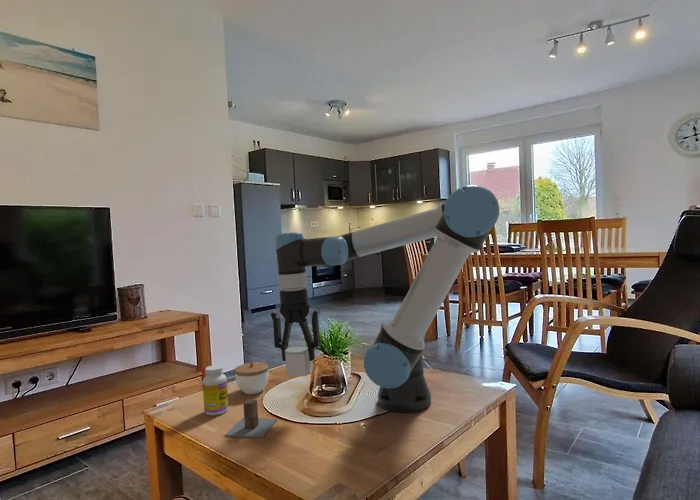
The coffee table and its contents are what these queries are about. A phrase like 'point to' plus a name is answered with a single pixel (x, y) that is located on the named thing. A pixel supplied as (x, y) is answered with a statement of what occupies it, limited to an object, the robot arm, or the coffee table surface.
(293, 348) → the pale grey block
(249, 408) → the post
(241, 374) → the lidded jar
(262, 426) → the coaster
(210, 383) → the supplement bottle
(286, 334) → the robot arm
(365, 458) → the coffee table surface
